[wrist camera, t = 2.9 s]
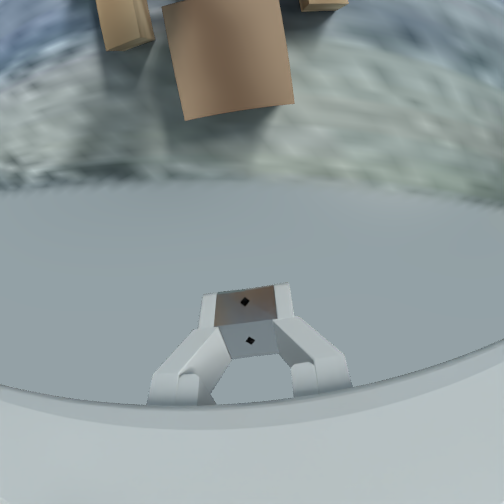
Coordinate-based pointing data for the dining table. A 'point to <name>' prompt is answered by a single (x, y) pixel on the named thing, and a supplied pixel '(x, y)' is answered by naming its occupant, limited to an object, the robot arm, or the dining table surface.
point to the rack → (140, 27)
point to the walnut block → (228, 55)
